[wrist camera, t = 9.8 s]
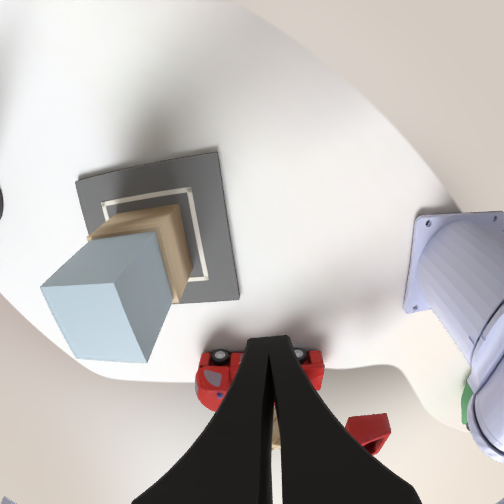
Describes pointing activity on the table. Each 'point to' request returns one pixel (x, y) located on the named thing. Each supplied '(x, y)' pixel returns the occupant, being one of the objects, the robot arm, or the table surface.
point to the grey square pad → (192, 211)
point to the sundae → (1, 205)
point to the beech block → (168, 236)
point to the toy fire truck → (219, 381)
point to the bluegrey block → (111, 298)
